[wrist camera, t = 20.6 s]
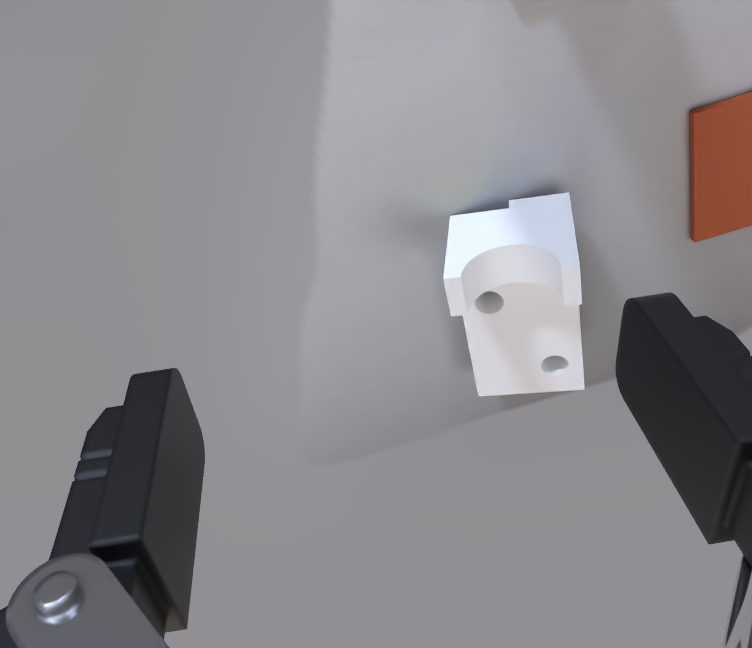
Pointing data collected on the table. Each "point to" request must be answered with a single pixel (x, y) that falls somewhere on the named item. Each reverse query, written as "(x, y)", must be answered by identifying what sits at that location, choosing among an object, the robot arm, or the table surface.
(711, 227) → the mat
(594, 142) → the table surface
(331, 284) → the table surface
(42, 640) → the robot arm
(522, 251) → the bracket
